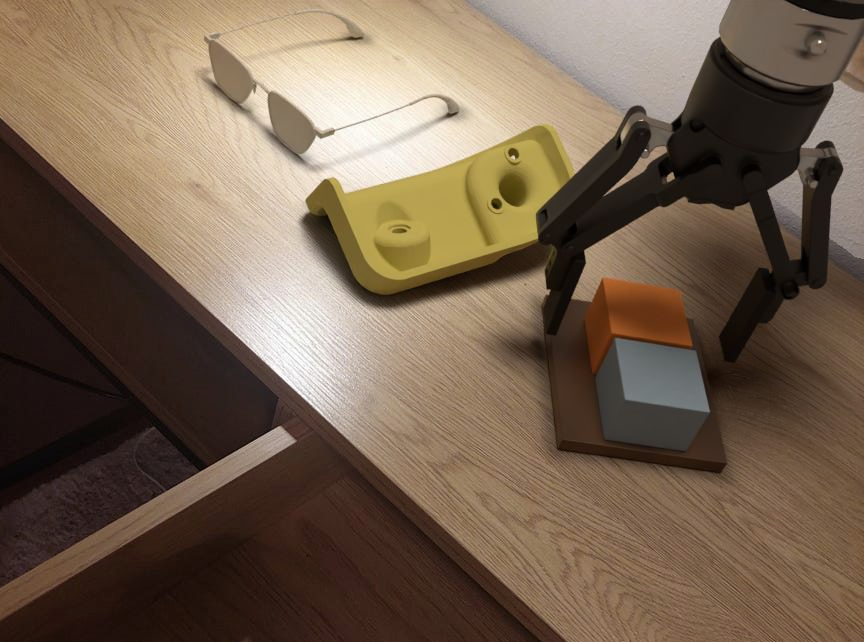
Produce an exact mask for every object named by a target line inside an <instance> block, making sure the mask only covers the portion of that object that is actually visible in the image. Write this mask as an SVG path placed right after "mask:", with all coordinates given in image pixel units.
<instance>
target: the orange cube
mask: <svg viewBox="0 0 864 642" xmlns="http://www.w3.org/2000/svg"><path fill="white" fill-rule="evenodd" d="M682 297H683V296H682V292H681V290H679V289H674V288H669V287H662V286H657V285H651V284H646V283H640V282H635V281H628V280H623V279H616V278H611V277H604V276H603V277H602V278H601V280H600V283H599V285H598V287H597V289H596V291H595V294H594V296H593V298H592V301H590V302H591V305H590V307H589V309H588V311H587V314H586V316H585V318H584V320H585V327H586V334H587V341H588V348H589V355H590V362H591V369H592V374H596V375H597V374H598V372H599V370H600V368H601V366H602V363H603V361H604V359H605V357H606V355H607V353H608V351H609V349H610V347H611V345H612V343H613V341H614V339H615V338H620V339H626V340H632V341H639V342H645V343H651V344H657V345H664V346H670V347H676V348H682V349H688V350H691V348H692V346H693V345H692V341H691V336H690V332H689V328H688V323H687V319H686V318H687V315H686V311H685V306H684V302H683V298H682Z"/></svg>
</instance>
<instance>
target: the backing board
mask: <svg viewBox="0 0 864 642" xmlns="http://www.w3.org/2000/svg"><path fill="white" fill-rule="evenodd" d="M548 295H549V294H545V295H544V298H543V301H542V303H541V309H542V311H543V308H544V305H545V303H546V300H547V298H548ZM591 302H592V301H587V300H580V299H575V298H571V301H570V303H569V305H568V308H567V310H566V313H565V315H564V317H563V320H562V322H561V325H560V327H559V330H558V332H557V334H556V336H555V335H548V334H546V331H545V330H544V334H545V336H544V337H545V345H546V354H547V362H548V364H547V365H548V372H549V381H550V389H551V390H550V391H551V396H552V399H551V400H552V408H553V418H554V425H555V427H554V428H555V435H556V444H557V449H558V450H562V451H570V452H576V453H584V454H590V455H596V456H597V455H598V456H603V457H612V458H620V459H624V460H625V459H626V460H633V461H638V462H639V461H640V462H647V463H653V464H661V465H667V466H668V465H669V466H673V467H682V468H687V469H695V470H702V471H709V472H717V473H722V472H723V470H724V469H725V468H726V466H727V464H728V460H727V455H726V452H725V447H724V444H723V439H722V434H721V431H720V426H719V422H718V418H717V414H716V410H715V405H714V401H713V396H712V392H711V388H710V384H709V383H710V382H709V379H708V375H707V371H706V367H705V363H704V358H703V354H702V350H701V346H700V341H699V337H698V333H697V329H696V324H695V320H694V318H690V317H686V319H687V323H688V328H689V332H690V336H691V341H692V345H693V346H692V348H691V350H695V351H696V353H697V357H698V362H699V366H700V370H701V375H702V379H703V383H704V388H705V392H706V396H707V401H708V405H709V409H710V413H709V415H708V416H707V418H706V420H705V421H704V423H703V425H702V426H701V428H700V429H699V431H698V433H697V434H696V436H695V437H694V439H693V441H692V442H691V444H690V445H689V447H688V449H687V450H686V451H679V450H672V449H665V448H658V447H651V446H645V445H638V444H631V443H624V442H617V441H610V440H605V439H604V435H603V429H602V422H601V415H600V408H599V401H598V394H597V388H596V381H595V378H596V376H597V375H596V374H592V369H591V362H590V355H589V348H588V341H587V334H586V327H585V320H584V318H585V316H586V314H587V311H588V309H589V307H590V305H591ZM542 317H543V320H544V313H543V312H542ZM543 326H544V328H543V329H545V322H544V321H543Z"/></svg>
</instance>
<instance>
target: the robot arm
mask: <svg viewBox="0 0 864 642" xmlns="http://www.w3.org/2000/svg"><path fill="white" fill-rule="evenodd" d="M718 33H719V37H717V38H715V39H714V40H713V41H712V42H711V44H710V46H709V49H708V51H707V53H706V55H705V57H704V60H703V62H702V64H701V67H700V69H699V71H698V74H697V76H696V78H695V80H694V83H693V85H692V88H691V90H690V91H689V93H688V94H689V95H688V97H687V100H686V103H685V105H684V108H683V110H682V111H681V113H680V114H679V115H678V116H677V117H676V118H675V119H674V120H673V121H671V122H670V123H669V122H666V121H662V120H659V119H656V118H653V117H650V116H648V114H647V110H646V108H645V107H644V106H643V105H639V104H638V105H637V104H636V105H632V106H631V107H630V108H628V110H627V111H626V113H625V115H624V117H623V118H622V120H621V123H620V125H619V126H618V128H617V130H616V132H615V134H614V135H613V136H612V138H610V139H609V140H608V141H607V143H605V144H604V145H603V146H602V147H601V148H600V149H599V150H598V151H597V152H596V153H595V154H594V155H593V156H592V157H591V158H590V159H589V160H588V161H587V162H585V164H584V165H583V166H582V167H581V168H580V169H578V171H577V172H575V175H574V176H573V177H572V178H571V179H570V180H569V181H568V182H567V183H566V184H565V185H564V186H563V187H561V188H560V189H559V190H558V191H557V192H556V193H555V194H554V195H553V196H552V197H551V198H550V199H549V200H548V201H547V202H546V203H545V204H544V205H543V206H542V207H541V208H540V209H539V210H538V211H537V213H536V225H537V234H538V240H539V241H538V243H539V244H541V245H543V246H550V245H551V246H552V249H551V252H550V254H549V256H548V260H547V262H546V265H545V268H544V280H545V287H546V288H545V289H546V290H548V291H549V293H548V294H547V295H548V298H547V300H546V303H545V305H544V308H543V310H542V314H543V313H544V319H543V323H544V322H545V328H544V332H545V331H546V334H548V335H555V336H556V334H557V332H558V330H559V327H560V325H561V322H562V320H563V317H564V315H565V313H566V310H567V308H568V305H569V303H570V301H571V299H573V296H574V294H575V290H576V288H577V286H578V284H579V281H580V279H581V276H582V275H583V271H584V269H585V267H586V264H587V259H586V250H588V249H589V248H591V247H593V246H594V245H596V244H597V243H599V242H601V241H603V240H605V239H606V238H608V237H610V236H611V235H613V234H614V233H616V232H618V231H619V230H621V229H623V228H624V227H625V228H626V226H628V225H630V224H631V223H633V222H635V221H637V220H638V219H641V218H642V217H644V216H645V215H647V214H648V213H650V212H652V211H654V210H655V209H657V208H659V207H661V208H667V207H669V206H671V205H673V204H675V203H677V202H678V201H679V200H681V199H683V198H685V199H686V201H687V203H690V204H695V205H708V204H709V205H710V204H711V205H714V206H716V207H718V208H720V209H723V210H729V211H734V210H735V208H736V207H741V206H745V205H747V204H749V206H750V209H751V212H752V215H753V217H754V220H755V224H756V225H757V229H758V231H759V234H760V237H761V240H762V244H763V246H764V249H765V253H766V255H767V258H768V261H769V264H770V266H771V269H772V270H771V271H770V269H769V268H768V267H761V266H758V267H757V269H756V270H755V273H754V274H753V276H752V277H751V279H750V281H749V282H748V284H747V286H746V288H745V289H744V291H743V294H742V295H741V297H740V299H739V300H738V302H737V304H736V305H735V307H734V309H733V310H732V312H731V314H730V316H729V317H728V319H727V321H726V323H725V324H724V326H723V328H722V329H721V332H720V333H719V335H718V340H719V344H720V348H721V352H722V356H723V360H724V363H730V364H731V363H732V364H735V363H736V361H737V360H738V358H739V357H740V355H741V353H742V352H743V350H744V348H745V346H746V345H747V343H748V342H749V340H750V339H751V337H752V335H753V334H754V332H755V331H756V329H757V327H758V325H759V324H763V325H767V324H768V323H770V322H771V321H772V320H773V319H774V317H775V316H776V315H777V312H778V311H779V309H780V307H781V306H782V304H783V302H784V301H792V300H794V299H796V298H797V297H799V295H800V293H801V290H800V287H808V288H809V289H811V290H820V289H821V288H823V287H825V285H826V284H827V281H828V266H829V252H830V251H829V248H830V234H831V233H830V231H831V212H832V197H833V194H834V192H835V190H836V187H837V185H838V184H839V182H840V179H841V178H842V175H843V173H844V166H843V163H842V161H841V158H840V155H839V153H838V151H837V148H836V146H835V144H834V142H833V141H831V140H823V141H820V142H819V143H818V144H817V145H816V146H815V147H814V148H813V147H802V146H803V145H804V144H806V142H808V140H809V138H810V136H811V135H812V133H813V131H814V129H815V127H816V125H817V124H818V122H819V120H820V118H821V117H822V115H823V113H824V111H825V109H826V108H827V105H828V104H829V102H830V100H831V98H833V94H834V91H835V87H834V83H835V82H837V81H839V80H840V79H841V78H842V77H843V76H844V74H845V73H846V70H847V69H848V67H849V65H850V64H851V61H852V60H853V59H854V56H855V54H856V53H857V51H858V49H859V47H860V46H861V43H862V42H863V40H864V0H730V1H729V3H728V4H727V7H726V10H725V11H724V14H723V16H722V18H721V20H720V23H719V25H718ZM659 147H665V149H666V152H664V153H663V154H661V155H659V156H658V157H656V158H655V159H653V160H652V161H650V162H649V163H648V165H646V168H645V170H644V171H642V172H640V173H639V174H637V175H636V176H634V177H632V178H631V179H629V180H627V181H625V182H624V183H623V184H621V185H620V186H618V187H616V188H615V189H613V188H614V187H615V186H616V185H617V184H618V183H620V181H621V180H623V178H624V177H626V176H627V175H628V174H629V172H631V171H632V170H633V168H634V167H635V166H636V164H637V163H638V161H639V160H640V158H641V159H643V160H645V159H648V158H649V157H650V155H651V153H652V152H653V151H654V150H655V149H656V148H659ZM796 171H797V174H798V176H799V179H800V182H801V184H802V200H801V201H802V203H801V204H802V205H801V231H800V233H801V236H800V258H795V259H790V255H789V253H788V249H787V245H786V243H785V240H784V236H783V233H782V231H781V228H780V225H779V222H778V218H777V216H776V212H775V209H774V206H773V203H772V200H771V196H770V194H769V190H771V189H772V188H774V187H775V186H777V185H778V184H780V183H781V182H784V180H786V179H787V178H789V177H790V176H792V175H793V174H794V173H795V172H796ZM671 174H673V179H671V180H670V181H668V176H669V175H671ZM612 189H613V190H612ZM609 191H610V192H609Z"/></svg>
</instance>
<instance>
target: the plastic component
mask: <svg viewBox="0 0 864 642" xmlns="http://www.w3.org/2000/svg"><path fill="white" fill-rule="evenodd" d="M513 156H514V158H512V157H513ZM575 174H576V172H575V170H574V167H573V164H572V162H571V160H570V157H569V155H568V153H567V151H566V149H565V147H564V143H563V142H562V140H561V138H560V135H559V133H558V131H557V129H556V128H555V127H554V126H553V125H550V124H548V123H542V124H538V125H534V126H532V127H530V128H528V129H526V130H524V131H522V132H520V133H518V134H516V135H514V136H512V137H510V138H508V139H505V140H504V141H502V142H499V143H497V144H495V145H493V146H491V147H489V148H486V149H484V150H482V151H479V152H477V153H475V154H472V155H470V156H467V157H465V158H463V159H460V160H457V161H455V162H452V163H450V164H447V165H443V166H440V167H439V168H435V169H433V170H430V171H429V170H428V171H426V172H422V173H418V174H415V175H411V176H406V177H403V178H398V179H395V180H391V181H388V182H384V183H383V182H382V183H379V184H376V185H372V186H368V187H364V188H360V189H357V190H353V191H349V192H345V191H344V189H343V187H342V184H341V182H340V181H339V180H338V179H337V178H336V177H334V176H331V177H327V178H324V179H323V180H322V181H321V182H320V183H319V184H318V185H317V186H316V187H315V188H314V190H313V191H312V192H311V193H310V194H308V196H307V197H306V198H305V200H304V201H305V204H306V207H307V209H308V211H309V213H311V214H312V215H314V216H318V217H320V216H321V217H323V216H328V217H327V218H328V219H329V221H330V223H331V226H332V228H333V231H334V233H335V235H336V237H337V240H338V243H339V244H340V247H341V249H342V253H343V254H344V257H345V259H346V261H347V263H348V265H349V268H350V270H351V273H352V275H353V276H354V278H355V280H356V281H357V282H358V283H359V284H360V286H362V287H363V288H364V289H366V290H367V291H369V292H371V293H374V294H377V295H383V296H385V295H386V296H387V295H395V294H397V293H400V292H403V291H407V290H410V289H413V288H416V287H420V286H423V285H426V284H429V283H433V282H437V281H439V280H442V279H446V278H450V277H453V276H456V275H459V274H462V273H465V272H470V271H472V270H476V269H479V268H482V267H485V266H488V265H492V264H494V263H496V262H497V261H498V260H499V259H501V258H503V257H504V256H505V255H508V254H511V253H514V252H518V251H521V250H523V249H525V248H528V247H530V246H532V245H534V244H536V243H537V242H539V240H538V234H537V225H536V213H537V211H538V210H539V209H540V208H541V207H542V206H543V205H544V204H545V203H546V202H547V201H548V200H549V199H550V198H551V197H552V196H553V195H554V194H555V193H556V192H557V191H558V190H559V189H560V188H561V187H563V186H564V185H565V184H566V183H567V182H568V181H569V180H570V179H571V178H572V177H573V176H574V175H575Z"/></svg>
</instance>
